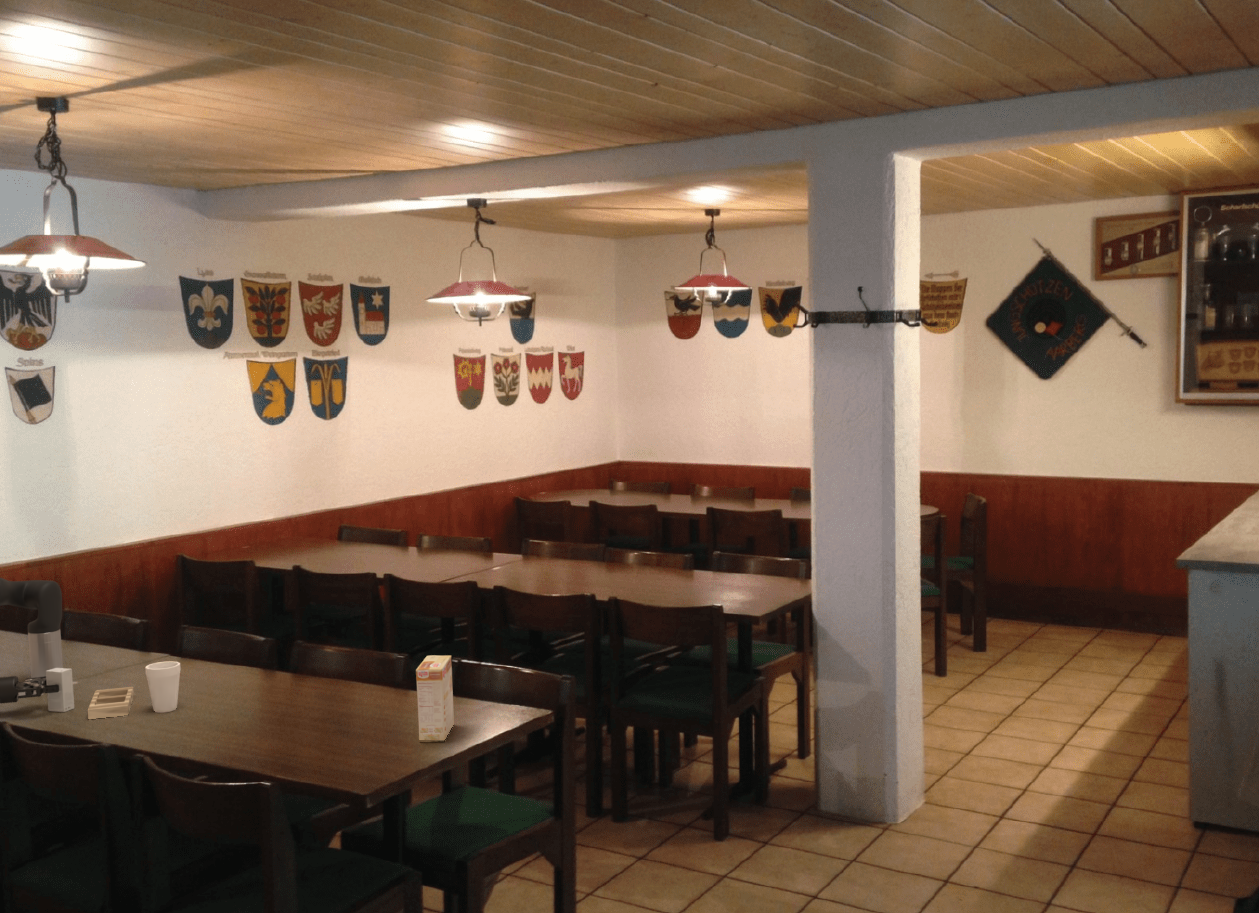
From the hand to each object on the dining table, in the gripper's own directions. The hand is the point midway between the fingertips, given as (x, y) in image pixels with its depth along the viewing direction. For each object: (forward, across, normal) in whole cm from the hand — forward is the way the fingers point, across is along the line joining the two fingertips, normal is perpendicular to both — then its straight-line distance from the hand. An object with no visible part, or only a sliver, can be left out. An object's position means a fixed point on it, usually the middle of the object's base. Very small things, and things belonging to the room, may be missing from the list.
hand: (61, 684), depth 351 cm
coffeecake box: (+99, -67, +8) cm, 119 cm away
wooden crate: (+14, -4, +8) cm, 16 cm away
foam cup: (+29, -12, +8) cm, 32 cm away
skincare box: (0, 0, +8) cm, 8 cm away
